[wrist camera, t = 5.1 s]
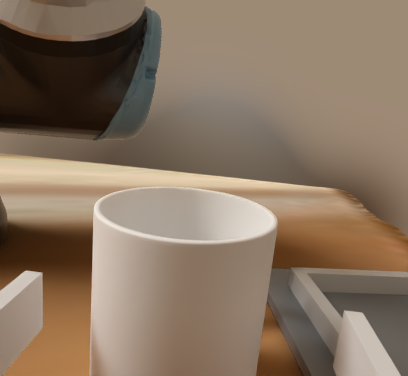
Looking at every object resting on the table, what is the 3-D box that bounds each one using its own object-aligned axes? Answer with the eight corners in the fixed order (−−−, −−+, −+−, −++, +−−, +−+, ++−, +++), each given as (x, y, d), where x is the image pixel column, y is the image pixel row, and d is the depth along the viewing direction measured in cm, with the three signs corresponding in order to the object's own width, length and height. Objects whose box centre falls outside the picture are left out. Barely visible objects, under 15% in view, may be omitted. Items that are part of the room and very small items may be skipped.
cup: (51, 434, 16) (50, 217, 14) (156, 302, 28) (165, 169, 25) (233, 500, 14) (268, 260, 12) (266, 328, 26) (288, 187, 23)
